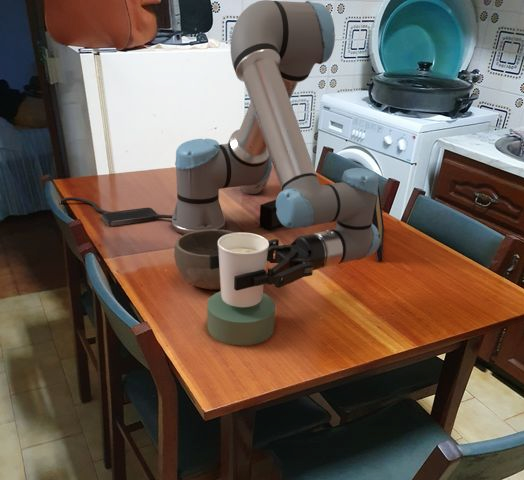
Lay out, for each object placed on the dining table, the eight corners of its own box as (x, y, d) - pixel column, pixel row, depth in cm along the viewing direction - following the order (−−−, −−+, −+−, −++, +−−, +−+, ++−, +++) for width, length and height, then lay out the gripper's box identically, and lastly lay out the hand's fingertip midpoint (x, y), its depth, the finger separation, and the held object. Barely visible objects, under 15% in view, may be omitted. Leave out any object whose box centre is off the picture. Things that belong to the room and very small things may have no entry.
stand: (195, 334, 112) (194, 311, 109) (225, 304, 122) (225, 282, 119) (258, 352, 108) (259, 329, 104) (283, 319, 118) (285, 297, 115)
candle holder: (272, 291, 114) (275, 237, 107) (256, 313, 106) (259, 257, 99) (228, 282, 116) (229, 228, 109) (209, 303, 108) (209, 247, 101)
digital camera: (272, 233, 157) (274, 209, 153) (258, 227, 160) (260, 204, 156) (295, 224, 164) (297, 201, 160) (281, 218, 167) (283, 196, 163)
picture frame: (382, 261, 145) (385, 206, 137) (348, 260, 147) (349, 206, 139) (383, 229, 164) (387, 179, 156) (353, 229, 166) (355, 179, 157)
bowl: (181, 262, 139) (180, 224, 133) (251, 266, 139) (252, 229, 133) (169, 295, 125) (167, 254, 119) (247, 299, 125) (249, 259, 119)
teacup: (275, 195, 184) (277, 172, 179) (241, 199, 179) (241, 174, 175) (258, 182, 195) (259, 159, 191) (225, 184, 191) (225, 161, 186)
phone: (158, 216, 160) (107, 222, 154) (159, 219, 161) (108, 226, 155) (150, 207, 166) (100, 213, 160) (150, 210, 167) (101, 216, 160)
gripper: (288, 216, 121) (196, 233, 110) (351, 254, 106) (252, 278, 96) (285, 248, 125) (197, 267, 115) (346, 289, 110) (251, 315, 100)
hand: (222, 272), depth 105 cm, fingers closed on candle holder, 9 cm apart
